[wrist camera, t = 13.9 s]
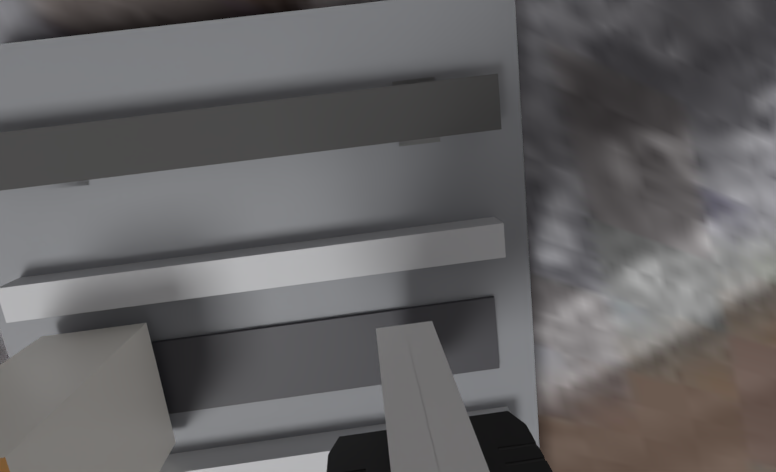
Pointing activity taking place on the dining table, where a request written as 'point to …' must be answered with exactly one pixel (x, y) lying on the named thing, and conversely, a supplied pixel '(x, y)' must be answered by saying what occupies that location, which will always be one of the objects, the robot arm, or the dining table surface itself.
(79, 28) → the dining table surface
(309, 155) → the panel
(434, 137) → the dark grey bar
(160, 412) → the orange-topped grey block
